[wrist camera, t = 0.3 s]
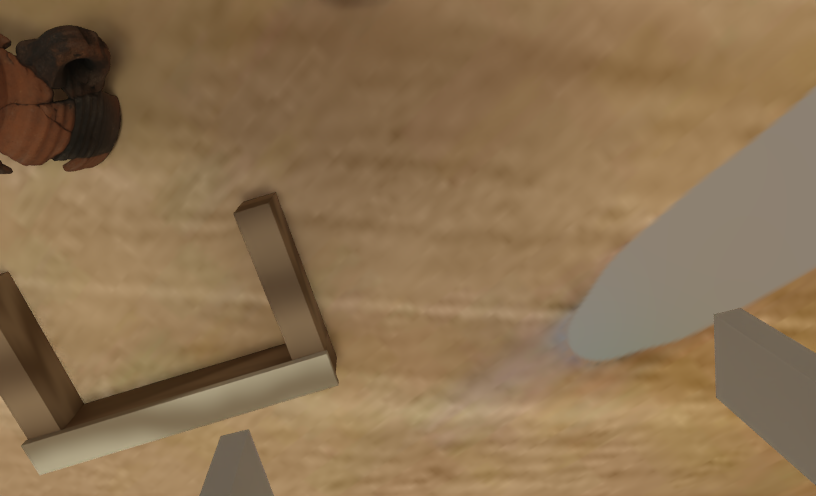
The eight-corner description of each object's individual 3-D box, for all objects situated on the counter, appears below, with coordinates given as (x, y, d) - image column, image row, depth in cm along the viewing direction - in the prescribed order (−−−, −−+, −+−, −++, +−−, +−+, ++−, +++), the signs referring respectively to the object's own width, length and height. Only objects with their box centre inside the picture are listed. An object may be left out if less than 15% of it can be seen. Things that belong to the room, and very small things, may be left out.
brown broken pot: (77, 202, 39) (-57, 203, 31) (23, 98, 40) (-118, 74, 32) (178, 98, 34) (51, 69, 27) (114, -15, 36) (-25, -74, 28)
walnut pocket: (-28, 282, 39) (-69, 305, 35) (278, 191, 39) (270, 204, 35) (67, 439, 44) (39, 475, 40) (339, 358, 44) (338, 385, 40)
